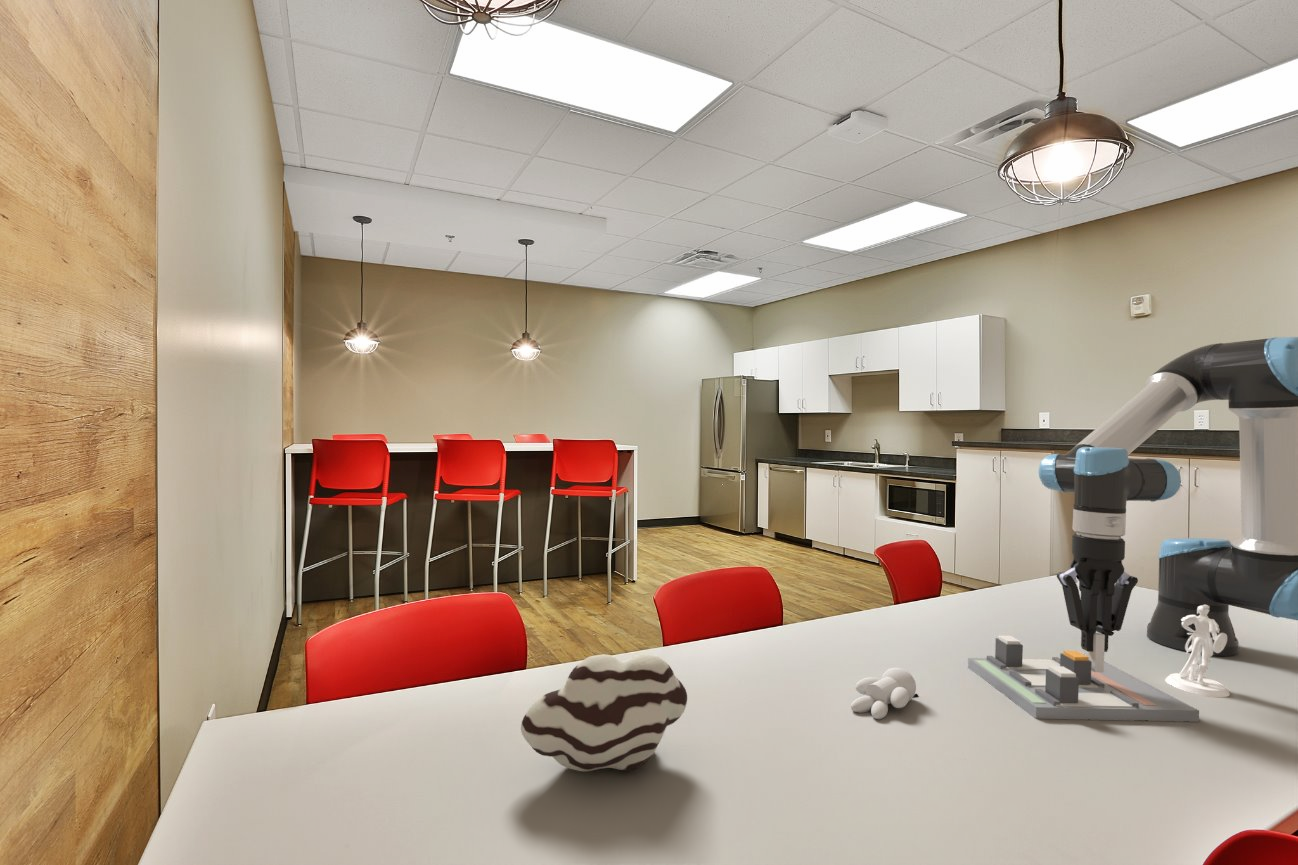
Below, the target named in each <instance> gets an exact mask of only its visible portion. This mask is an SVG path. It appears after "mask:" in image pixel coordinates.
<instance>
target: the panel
mask: <svg viewBox="0 0 1298 865" xmlns="http://www.w3.org/2000/svg"><path fill="white" fill-rule="evenodd" d="M1049 666H1060V657H1058V656H1056V657H1055V656H1052V659H1049V658H1048V659H1045V658H1043V659H1041V658H1040V659H1037V658H1022V667H1010V666H1006V665H1005V664H1003V663H1002V662H1000V661H999V660H997V659H996V658H995V656H993V655H986V657H968V658H967V668H969V669H970V670H972V672H974V674H977V675H978V676H979V677H981V678H982V679H983V680H984V681H985V682H987V683H988V684H990V685H991V686H992V687H994V688H995V689H996V690H997V691H999V692H1000V693H1001V694H1003V695H1004V696H1006V697H1007V698H1008V699H1009V700H1011V701H1012V702H1014V703H1015V704H1016V705H1017V706H1018V707H1020V708H1021V709H1022V710H1024V711H1025V712H1027V713H1028V714H1029V715H1030V716H1032V718H1034V719H1041V720H1042V719H1043V720H1045V719H1048V720H1049V719H1050V720H1086V721H1087V720H1088V719H1090V720H1091V721H1092V720H1093V721H1095V720H1096V721H1134V720H1148V721H1147V722H1183V721H1189V722H1192V723H1193V722H1194V723H1195V722H1196V723H1199V722H1200V710H1199V709H1198V708H1195V707H1193V706H1191V705H1189V704H1187V703H1186V702H1184V701H1182V700H1180V699H1178V698H1176V697H1174V696H1172V695H1170V694H1168V693H1167V692H1164V691H1163V690H1160V689H1159V688H1157V687H1156V686H1155V687H1154V686H1153V685H1152V684H1151V685H1150V684H1149V683H1147V682H1146V681H1143V680H1142V679H1140V678H1138V677H1135V676H1133V675H1132V674H1130V673H1128V672H1126V671H1124V670H1122V669H1120V668H1118V667H1116V666H1114V665H1112V664H1110V663H1108V662H1106V661H1105V660H1104V672H1094V671H1092V670H1091V684H1079V690H1078V703H1060V701H1058V700H1057V699H1055V698H1054V697H1052V696H1051V695H1049V694H1048V693H1046V692H1045V684H1046V669H1049ZM1090 720H1089V721H1090Z"/></svg>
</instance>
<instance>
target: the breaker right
mask: <svg viewBox="0 0 1298 865" xmlns="http://www.w3.org/2000/svg"><path fill="white" fill-rule="evenodd" d="M1078 690H1079V678H1078V677H1076V674H1075V673H1074V672H1072V671H1070V670H1069V669H1067V668H1065V667H1063V666H1049V669H1046V684H1045V692H1046V693H1048V694H1049V695H1051V696H1052V697H1054V698H1055V699H1057V700H1058V701H1060V703H1078Z"/></svg>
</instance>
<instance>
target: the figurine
mask: <svg viewBox="0 0 1298 865" xmlns="http://www.w3.org/2000/svg"><path fill="white" fill-rule="evenodd" d="M1209 608H1210V607H1209V606H1208V605H1203V606H1202V605H1201V606H1198V608H1197V614H1198V612H1199V614H1200V615H1199V616H1196V615H1187V616H1186V617H1183V618H1182V619H1181V621H1183V622H1182V626H1183V628H1184V629H1186V630H1188V631H1190V632H1193V633H1187V634H1188V635H1191V636H1190V638H1189V639H1188V641H1187V643H1186V645H1185V649H1186V651H1185V652H1186V653H1185V655H1188V653H1190V655H1189V658H1188V660H1187V661H1186V663H1185V664H1184V666H1183V668H1182V669H1181V670H1180V672H1179V673H1178V672H1174V673H1169V675H1168V676H1167V677H1166V678H1165V682H1166V683H1167V684H1168V685H1170V686H1171V685H1172V686H1171V687H1174V688H1175V689H1178V690H1181V691H1185V692H1186V693H1191V694H1193V695H1198V696H1204V697H1212V698H1227V697H1229V696H1230V695H1231V694H1230V692H1229V690H1228V689H1227V687H1226V686H1225V685H1224V684H1222V683H1220V682H1219V681H1216V680H1215V679H1211V678H1207V677H1204V676H1205V674H1206V672H1207V670H1209V667H1208V666H1210V663H1211V660H1210V658H1211V657H1212V656H1214V655H1213V651H1214V652H1216V653H1220V652H1221V651H1222V650H1223V649H1224V647H1225V645H1226V643H1227V635H1226V634H1225V633H1220V634H1219V635H1217V633H1219V631H1220V629H1219V628H1218V627H1219V625H1218V624H1217V623H1216V621H1215V620H1214V619H1210V618H1208V616H1207V614H1208V612H1209V610H1208V609H1209ZM1191 624H1194V625H1195V627H1196V630H1195V631H1194V630H1192V629H1191V628H1189V627H1188V625H1191ZM1216 632H1217V633H1216ZM1210 633H1212V636H1213V640H1215V641H1214V643H1213V642H1212V638H1211V636H1210ZM1192 634H1193V635H1192ZM1191 639H1192V645H1191V646H1190V647H1189V649H1188V644H1189V642H1190V640H1191ZM1190 651H1192V652H1190ZM1201 652H1202V654H1201ZM1201 658H1202V659H1201ZM1200 661H1201V664H1199V662H1200ZM1197 671H1198V674H1196V673H1197Z"/></svg>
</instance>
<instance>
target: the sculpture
mask: <svg viewBox="0 0 1298 865" xmlns="http://www.w3.org/2000/svg"><path fill="white" fill-rule="evenodd" d="M687 704H688V693H687V690H686V687H685V686H684V684H683V683H682V682H681V681H680V680H679V679H678V677H676V675H675V673H674V671H673V669H672V667H671V666H670V665H669V664H668V662H667V661H665V660H664V659H663V658H661V657H660V656H658V655H655V654H651V653H640V654H637V655H636V654H635V655H633V656H632V657H630V658H628V659H626V660H620V659H618V658H617V657H615V656H613V655H610V654H604V653H603V654H596V655H590V656H588V657H586V658H584V659H583V660H582V661H581V662H580V663H578V664H577V665H576V666H575V667H574V668H573V669H572V670H571V672H570V673H569V674H568V677H567V680H566V682H565V683H564V686H563V687H561V688H560V689H557V690H554V691H551V692H548V693H545V694H543V695H542V696H539V697H538V698H537V699H535V700H534V701H533V703H532V704H531V705H530V707H529V708H528V710H527V711H526V713H525V714H524V716H523V719H522V720H521V724H520V731H521V735H522V736H523V738H524V740H525V741H526V742H527V743H528V745H529V746H530V747H531V748H532V750H534V751H535V752H536V753H537V754H539V755H541V756H545V757H550V758H551V757H552V758H553V759H554V760H555V761H556V762H557V763H558V764H559V765H561V766H563V767H565V768H567V769H570V770H573V771H574V770H575V771H578V772H592V771H595V770H599V769H607V768H609V769H610V768H611V769H615V770H619V771H633V770H636V769H638V768H640V767H641V766H642V765H643V764H644V763H645V762H647V761H648V760H649V759H651V757H652V756H653V755H654V753H655V752H656V750H657V748H658V745H659V744H660V742H661V740H662V738H663V736H664V734H665V731H666V729H667V727H668V726H671V725H673V724H674V723H676V722H677V721H678V720H679V719H680V717H682V715H683V714H684V713H685V710H686V708H687Z"/></svg>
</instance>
